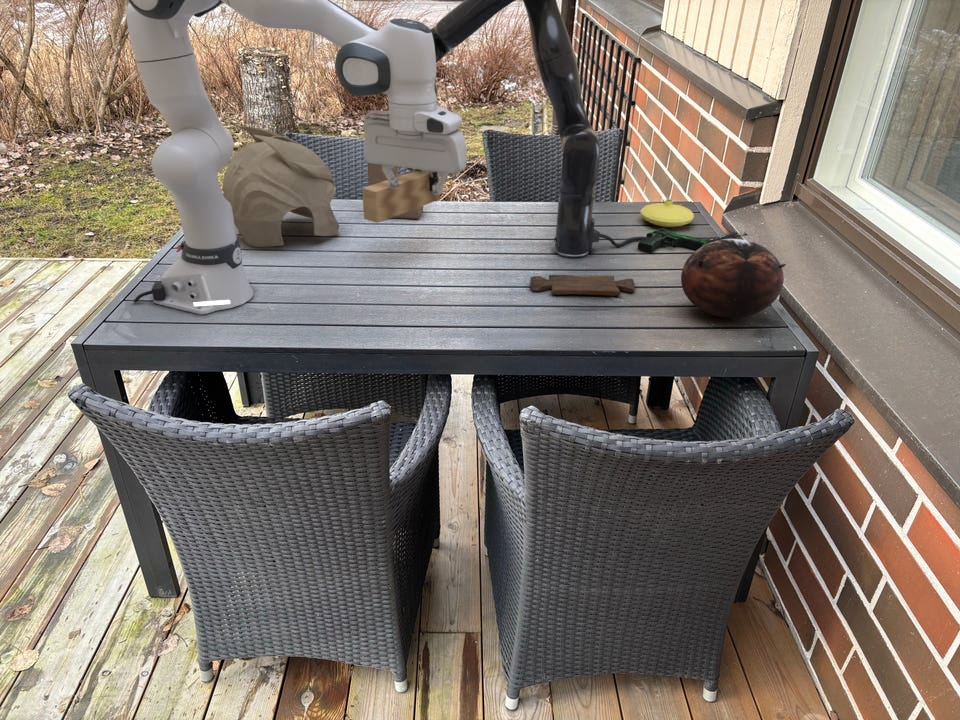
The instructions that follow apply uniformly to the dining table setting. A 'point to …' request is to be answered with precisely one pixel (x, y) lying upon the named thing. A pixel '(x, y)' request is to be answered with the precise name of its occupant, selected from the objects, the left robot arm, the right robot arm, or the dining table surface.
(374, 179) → the decorative block
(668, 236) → the handgun
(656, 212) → the yellow knobbed lid
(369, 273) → the dining table surface
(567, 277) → the dark wooden board
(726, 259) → the brown coconut
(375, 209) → the bar
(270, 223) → the helmet
